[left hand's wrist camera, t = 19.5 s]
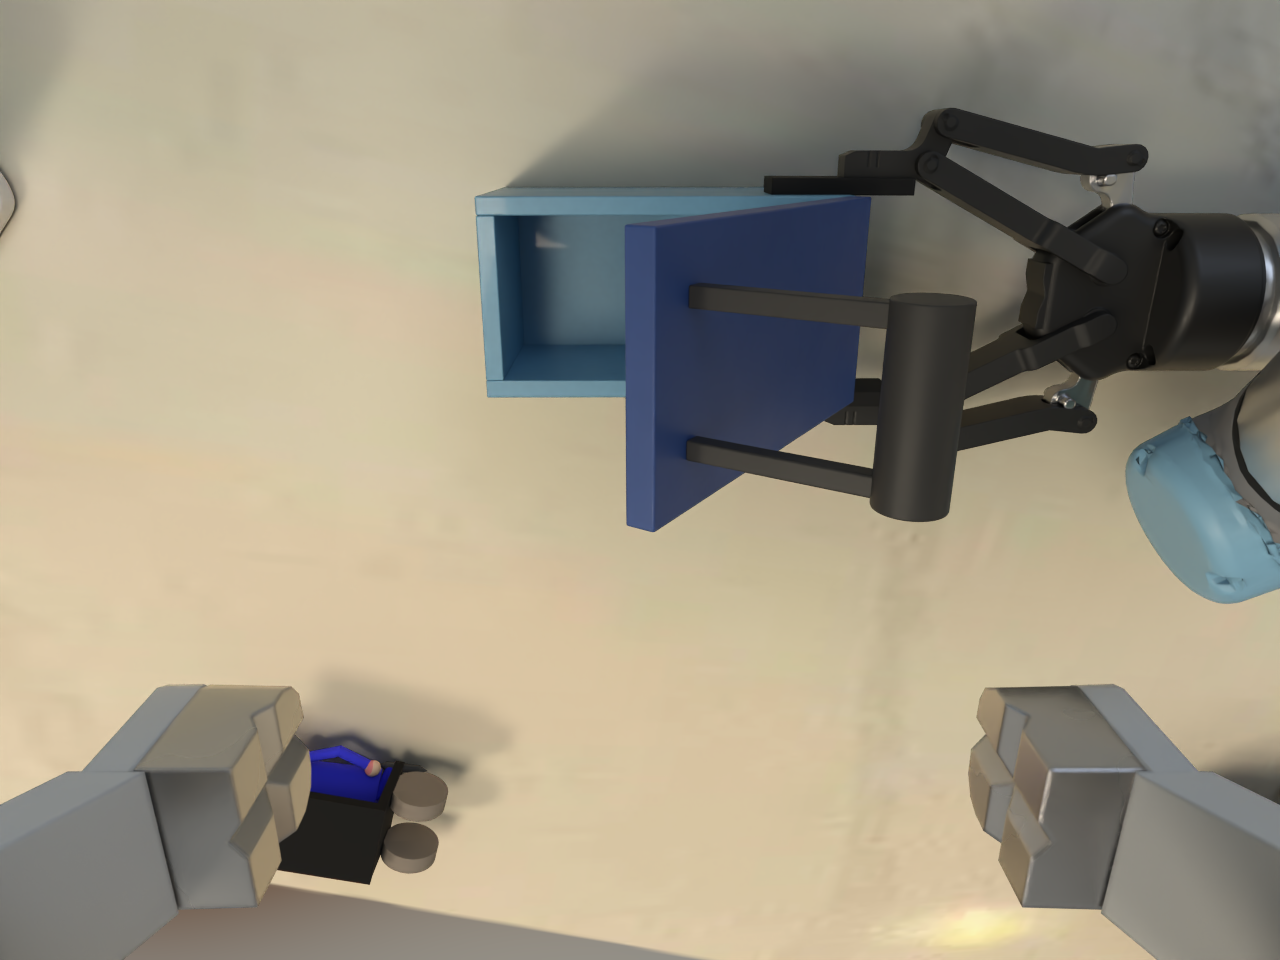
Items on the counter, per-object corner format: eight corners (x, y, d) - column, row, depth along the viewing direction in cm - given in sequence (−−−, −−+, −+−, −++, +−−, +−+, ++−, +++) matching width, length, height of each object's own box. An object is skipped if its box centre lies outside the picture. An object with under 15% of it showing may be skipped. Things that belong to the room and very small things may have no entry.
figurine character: (456, 736, 62) (232, 707, 59) (447, 814, 55) (192, 786, 52) (441, 810, 64) (224, 786, 61) (430, 894, 57) (185, 872, 54)
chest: (512, 355, 51) (487, 397, 43) (503, 187, 48) (474, 196, 39) (806, 355, 51) (840, 396, 43) (817, 187, 48) (857, 195, 39)
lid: (625, 526, 28) (917, 601, 23) (623, 224, 25) (962, 241, 20) (832, 398, 42) (1040, 429, 38) (848, 196, 39) (1078, 202, 34)
